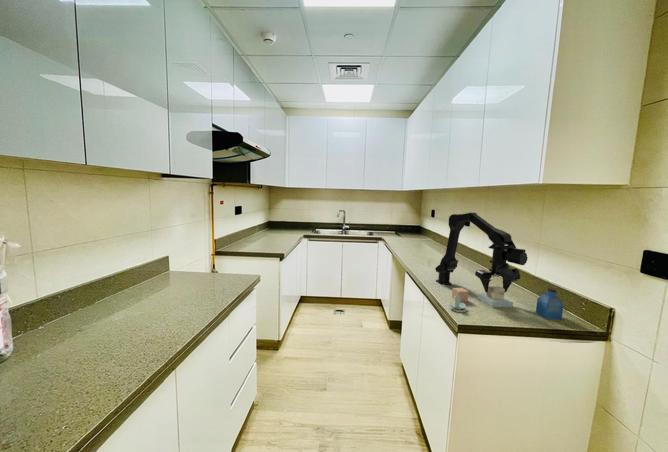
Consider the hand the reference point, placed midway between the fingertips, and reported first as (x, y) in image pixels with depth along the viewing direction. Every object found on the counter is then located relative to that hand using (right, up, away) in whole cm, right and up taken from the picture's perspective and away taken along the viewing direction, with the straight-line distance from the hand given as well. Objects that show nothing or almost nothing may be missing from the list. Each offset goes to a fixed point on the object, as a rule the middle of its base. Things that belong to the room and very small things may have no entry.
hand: (495, 292), depth 124 cm
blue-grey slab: (0, -6, +1) cm, 6 cm away
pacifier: (-22, -6, -9) cm, 24 cm away
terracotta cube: (-16, -4, +3) cm, 16 cm away
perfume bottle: (+15, -7, -12) cm, 20 cm away
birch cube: (0, -3, 0) cm, 2 cm away
